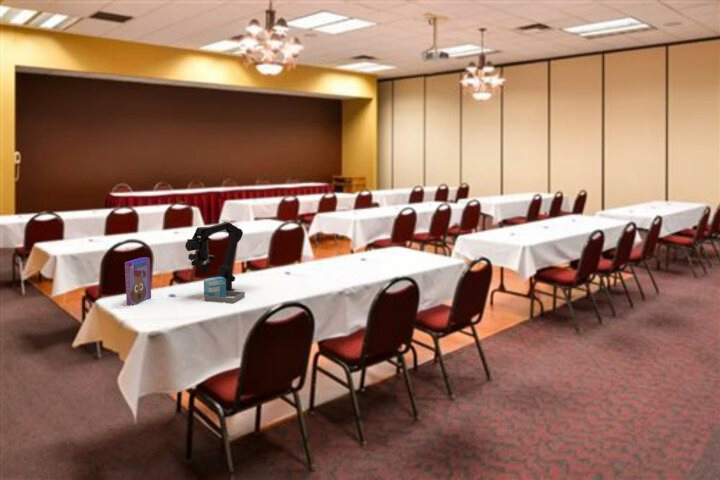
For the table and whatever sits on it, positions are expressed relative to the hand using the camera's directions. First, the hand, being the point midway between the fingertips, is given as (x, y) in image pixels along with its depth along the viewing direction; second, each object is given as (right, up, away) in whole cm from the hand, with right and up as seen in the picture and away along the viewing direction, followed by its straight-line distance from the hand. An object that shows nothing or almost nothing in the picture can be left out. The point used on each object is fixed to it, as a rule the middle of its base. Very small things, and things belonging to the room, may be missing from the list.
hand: (204, 274), depth 358 cm
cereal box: (-34, -15, -13) cm, 39 cm away
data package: (+8, -14, -5) cm, 17 cm away
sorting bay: (+13, -14, -6) cm, 20 cm away
